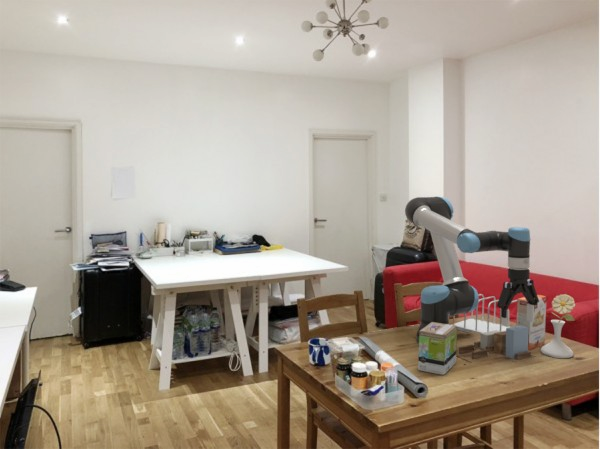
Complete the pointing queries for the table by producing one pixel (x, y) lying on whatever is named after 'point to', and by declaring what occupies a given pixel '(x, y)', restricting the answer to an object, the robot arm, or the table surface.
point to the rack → (518, 356)
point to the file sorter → (480, 321)
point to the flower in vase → (556, 345)
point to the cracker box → (538, 326)
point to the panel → (516, 341)
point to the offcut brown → (499, 342)
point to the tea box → (437, 348)
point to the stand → (471, 353)
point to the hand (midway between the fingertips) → (518, 323)
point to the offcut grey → (487, 339)
